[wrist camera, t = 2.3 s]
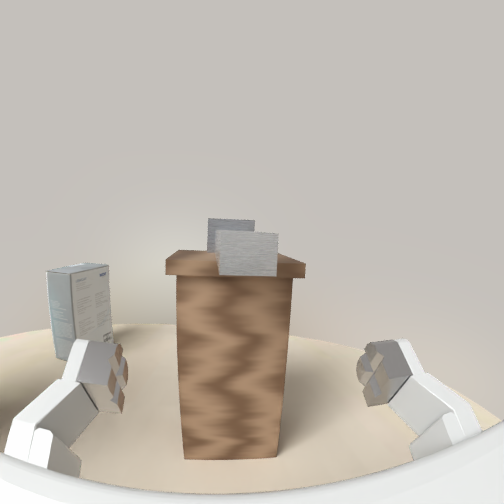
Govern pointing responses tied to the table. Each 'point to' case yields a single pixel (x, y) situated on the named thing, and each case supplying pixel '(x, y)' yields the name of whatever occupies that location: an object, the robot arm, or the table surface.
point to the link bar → (242, 248)
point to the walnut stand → (231, 355)
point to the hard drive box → (79, 305)
